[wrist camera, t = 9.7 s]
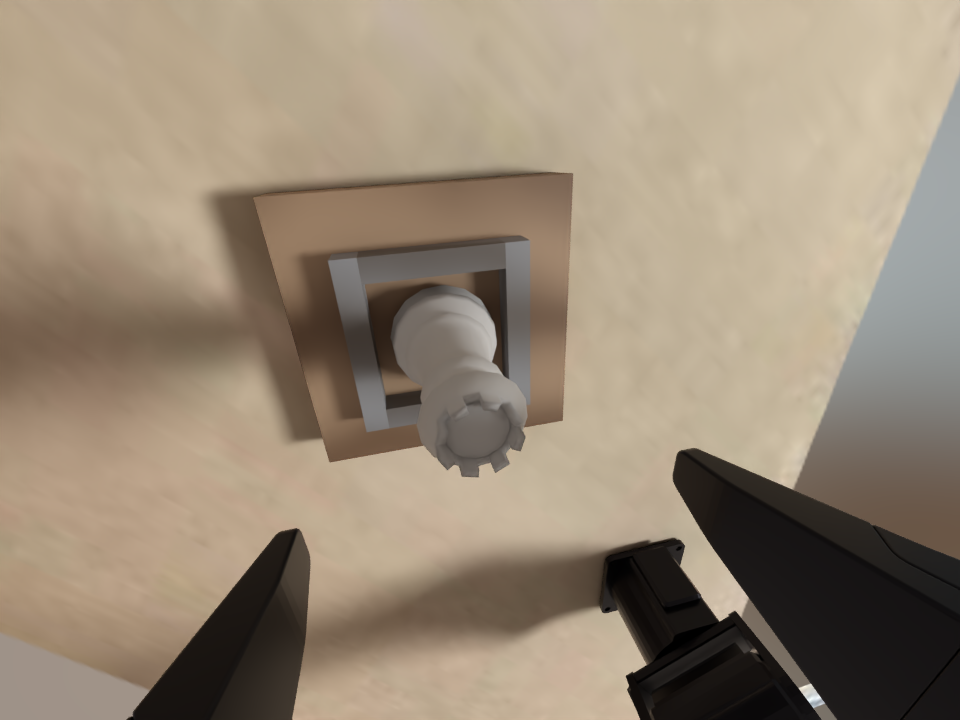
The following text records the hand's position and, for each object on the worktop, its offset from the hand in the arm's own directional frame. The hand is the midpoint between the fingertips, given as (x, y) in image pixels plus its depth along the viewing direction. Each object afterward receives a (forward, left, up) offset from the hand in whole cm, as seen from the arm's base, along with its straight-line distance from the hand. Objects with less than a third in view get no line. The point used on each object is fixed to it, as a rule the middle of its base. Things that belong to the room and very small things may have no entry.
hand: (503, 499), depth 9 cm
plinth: (0, 0, -12) cm, 12 cm away
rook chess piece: (0, 0, -10) cm, 10 cm away
